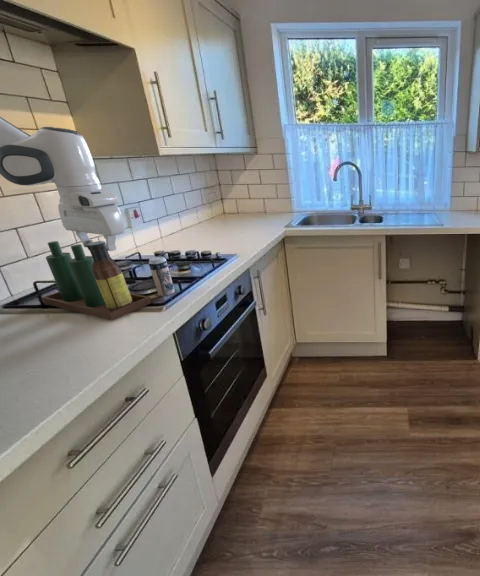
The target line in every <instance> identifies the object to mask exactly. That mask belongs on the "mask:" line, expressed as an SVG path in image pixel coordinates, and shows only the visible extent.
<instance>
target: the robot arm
mask: <svg viewBox="0 0 480 576" xmlns="http://www.w3.org/2000/svg"><path fill="white" fill-rule="evenodd" d="M0 176H2V178H3V179H5V180H7V181H8V182H10V183H12V184H14V185H18V186H25V187H33V186H39V185H46V184H53V183H54V184H55V186H56V191H57V193H58V195H59V199H58V200H59V201H58V202H59V203H58V205H57V208H58V214H59V217H60V220H61V223H62V226H63V228H64V230H65V231H70V232H75V235H76V236H77V237H78V239H79V240H80V241H81V243H82V247H84V248H87V244H89V243H92V242H94V240H92V239H90V236H89V235H88V234H92V235H99V236H100V235H102V236H103V238H104V239H105V243H106V244H105V247H106V250H107V251H108V252H114V251H117V246H116V241H117V236H119V235H122V234H124V233H125V229H126V227H125V223H124V219H123V216H122V212H121V210H120V207H119V206H118V203H119V199H118V196H117V195H116V194H114V193H112V192H111V191H108V190H107V189H105V188H104V187H102V184H101V180H100V179H99V178H98V176H97V174H96V165H95V161H94V158H93V156H92V153H91V150H90V148H89V145H88V143H87V141H86V140H85V138H84V136H83V135H82V134H81V133H79V132H78V131H76V130H74V129H69V128H63V127H54V126H43V127H40V128H39V129H38V130H37V131H36V132H35V133H33V134H31V135H30V134H29V133H27V132H26V131H24V130H22V129H21V128H19V127H17V126H16V125H14V124H12V122H10V121H8V120H6V119H5V118H3V117H1V116H0Z"/></svg>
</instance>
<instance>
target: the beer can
mask: <svg viewBox="0 0 480 576" xmlns="http://www.w3.org/2000/svg"><path fill="white" fill-rule="evenodd" d="M148 266H149V269H150V272H151V276H152V279H153V282H154V283H153V284H154V286H155V289H156V292H157V295H158V296H160V297H162V296H163V297H164V296H169V295H172V294H174V293H176V290H175V286H174V283H173V280H172V276H171V273H170V268H169V265H168V262H167V259H166V257H164V256H160V255H159V256H154V257H151V258H149V260H148Z"/></svg>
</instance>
